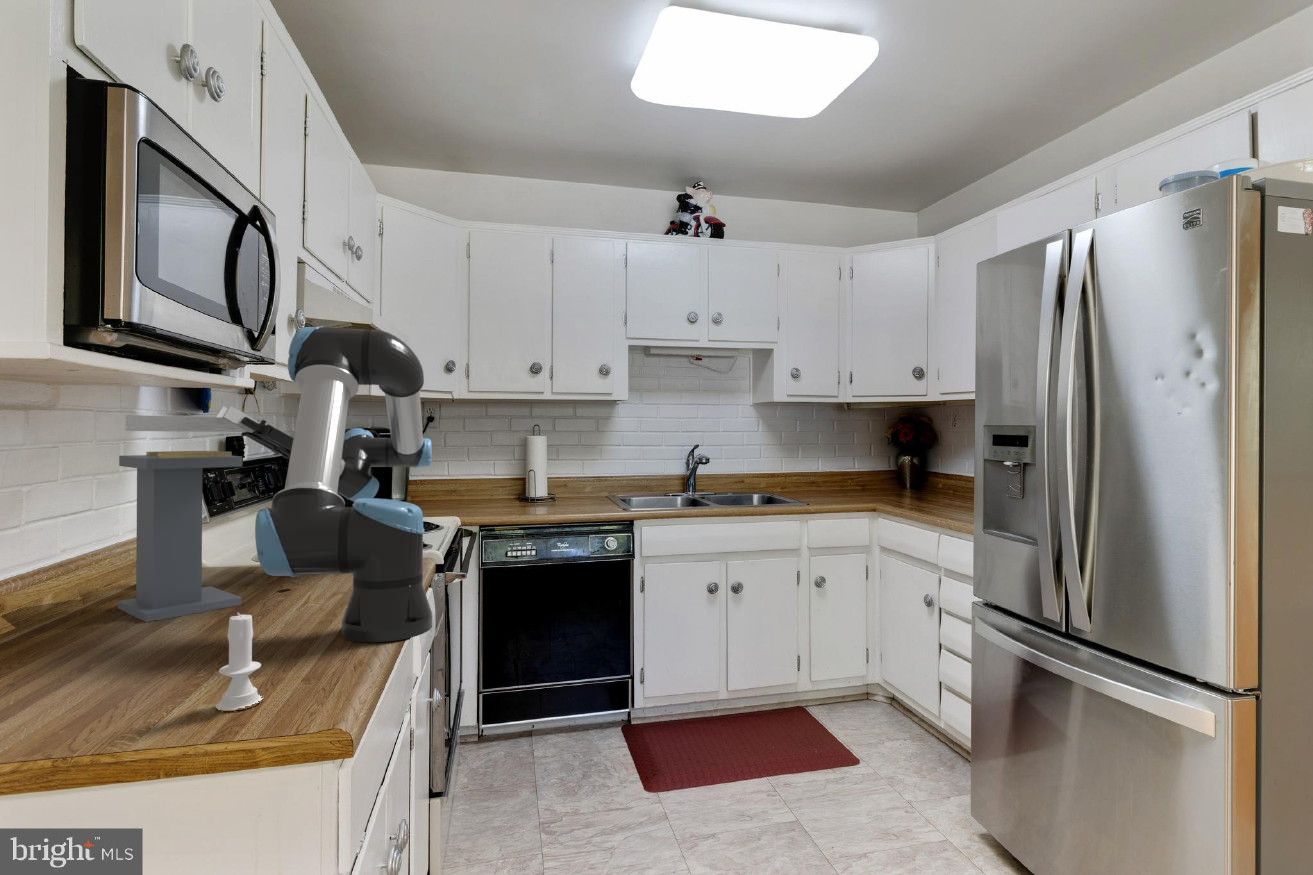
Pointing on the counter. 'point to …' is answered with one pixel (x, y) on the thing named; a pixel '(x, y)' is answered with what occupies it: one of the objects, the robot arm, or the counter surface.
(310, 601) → the counter surface
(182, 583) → the stand
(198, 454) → the bracket
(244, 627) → the candle
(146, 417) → the rod
